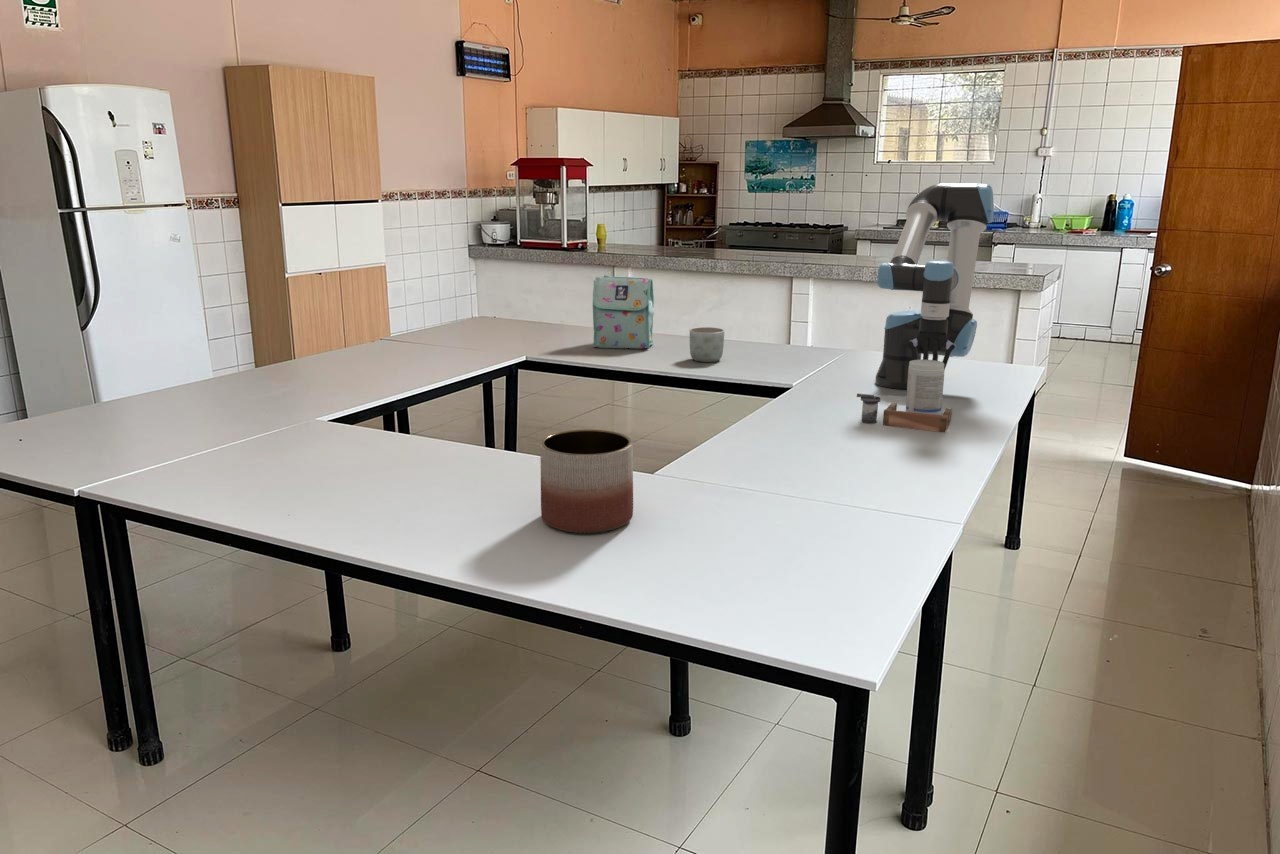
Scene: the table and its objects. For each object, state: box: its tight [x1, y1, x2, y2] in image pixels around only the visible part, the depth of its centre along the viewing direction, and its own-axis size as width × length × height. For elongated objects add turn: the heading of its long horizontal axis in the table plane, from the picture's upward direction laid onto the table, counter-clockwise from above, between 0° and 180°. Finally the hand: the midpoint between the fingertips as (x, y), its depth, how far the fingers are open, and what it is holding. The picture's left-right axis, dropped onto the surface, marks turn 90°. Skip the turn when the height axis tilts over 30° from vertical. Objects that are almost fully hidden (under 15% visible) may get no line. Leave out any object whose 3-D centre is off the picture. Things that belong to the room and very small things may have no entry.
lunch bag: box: [592, 274, 655, 350], centre depth 348 cm, size 23×16×27 cm
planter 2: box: [689, 326, 725, 363], centre depth 325 cm, size 12×12×11 cm
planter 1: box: [539, 428, 634, 535], centre depth 175 cm, size 18×18×16 cm
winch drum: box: [856, 393, 882, 425], centre depth 247 cm, size 5×6×7 cm
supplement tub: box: [905, 359, 946, 415], centre depth 254 cm, size 10×10×15 cm
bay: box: [882, 402, 952, 433], centre depth 246 cm, size 12×16×4 cm
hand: (926, 400), depth 261 cm, fingers closed
